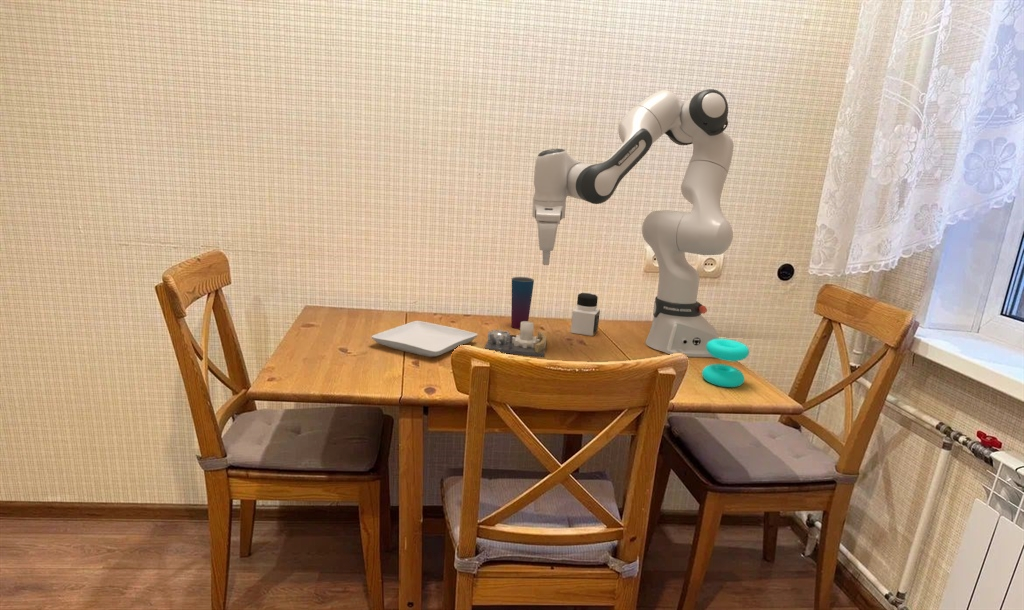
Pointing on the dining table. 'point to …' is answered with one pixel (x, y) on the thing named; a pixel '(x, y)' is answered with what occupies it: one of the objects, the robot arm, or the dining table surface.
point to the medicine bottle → (585, 315)
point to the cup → (521, 300)
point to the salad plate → (424, 338)
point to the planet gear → (526, 336)
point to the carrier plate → (503, 343)
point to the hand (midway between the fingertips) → (546, 261)
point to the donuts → (725, 373)
